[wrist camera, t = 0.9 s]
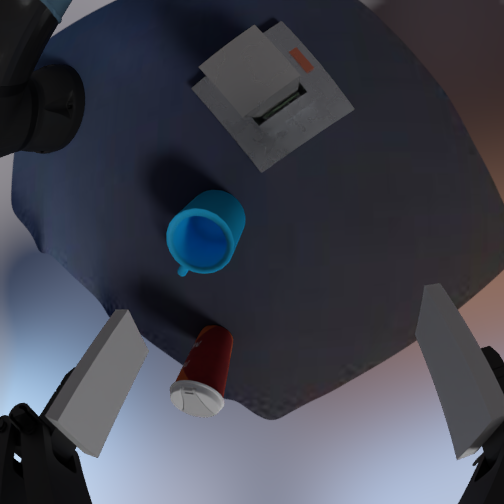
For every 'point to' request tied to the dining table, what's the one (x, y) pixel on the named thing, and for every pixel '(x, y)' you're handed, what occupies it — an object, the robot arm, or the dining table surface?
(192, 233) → the mug
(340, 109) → the stand base
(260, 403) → the dining table surface
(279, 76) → the column
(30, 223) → the dining table surface
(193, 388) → the coffee cup
